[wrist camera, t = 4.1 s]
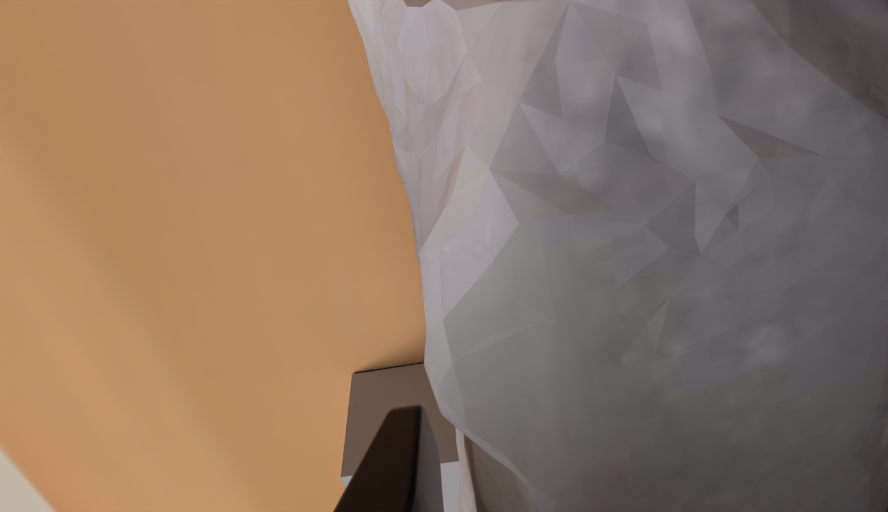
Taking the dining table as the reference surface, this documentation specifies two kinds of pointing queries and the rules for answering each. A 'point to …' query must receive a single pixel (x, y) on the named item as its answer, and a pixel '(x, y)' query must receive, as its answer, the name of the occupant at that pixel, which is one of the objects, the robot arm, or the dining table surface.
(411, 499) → the robot arm
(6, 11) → the dining table surface
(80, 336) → the dining table surface
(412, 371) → the gray plinth
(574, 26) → the stone block
